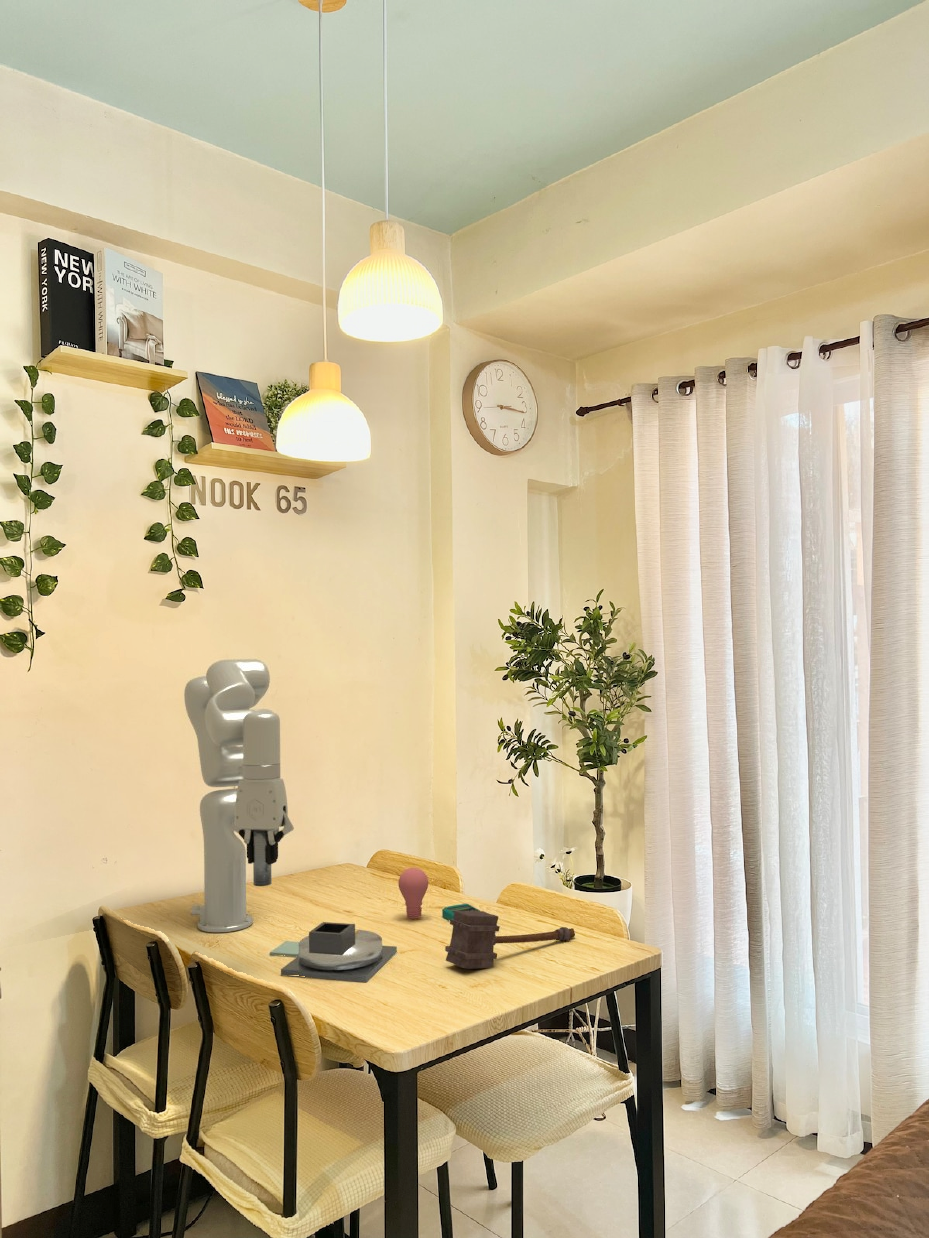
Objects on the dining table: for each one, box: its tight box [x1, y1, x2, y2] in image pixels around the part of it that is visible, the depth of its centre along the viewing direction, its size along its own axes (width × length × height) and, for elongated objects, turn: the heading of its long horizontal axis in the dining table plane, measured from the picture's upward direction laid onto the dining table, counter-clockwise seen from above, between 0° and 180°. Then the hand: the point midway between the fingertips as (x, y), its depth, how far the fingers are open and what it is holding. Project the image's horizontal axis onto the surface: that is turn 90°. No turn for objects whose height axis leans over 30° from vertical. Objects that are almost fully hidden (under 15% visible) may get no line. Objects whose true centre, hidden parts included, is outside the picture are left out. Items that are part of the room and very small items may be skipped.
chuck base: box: [280, 945, 398, 983], centre depth 188 cm, size 18×18×1 cm
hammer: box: [444, 910, 576, 969], centre depth 192 cm, size 7×33×10 cm, turn 128°
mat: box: [269, 940, 300, 957], centre depth 196 cm, size 8×8×1 cm
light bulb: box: [398, 867, 429, 919], centre depth 219 cm, size 7×7×12 cm
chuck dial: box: [298, 921, 383, 970], centre depth 188 cm, size 17×17×7 cm
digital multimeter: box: [441, 903, 481, 921], centre depth 215 cm, size 7×15×3 cm, turn 28°
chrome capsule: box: [252, 830, 273, 887], centre depth 188 cm, size 4×4×12 cm
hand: (262, 861), depth 187 cm, fingers closed on chrome capsule, 3 cm apart
